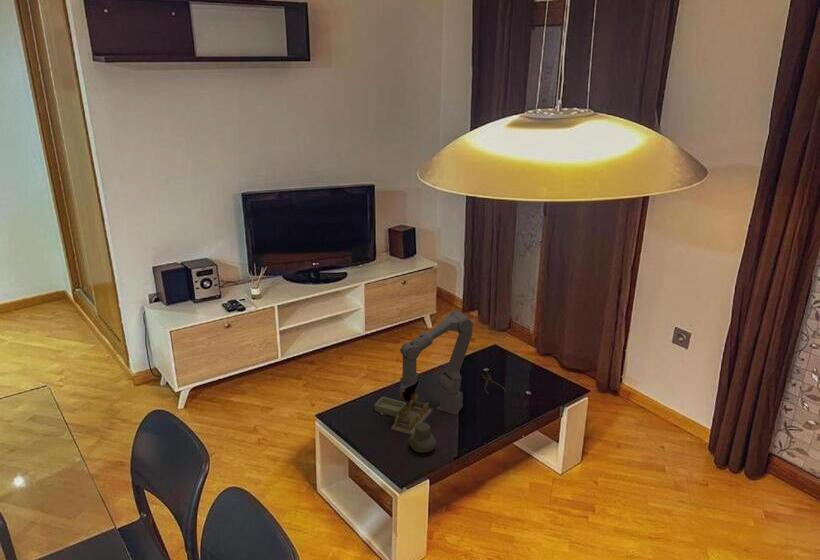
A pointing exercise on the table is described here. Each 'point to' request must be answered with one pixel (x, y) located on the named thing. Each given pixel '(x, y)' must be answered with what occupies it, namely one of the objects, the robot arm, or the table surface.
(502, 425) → the table surface
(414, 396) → the cylinder
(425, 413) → the fuse holder
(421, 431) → the air freshener
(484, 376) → the pliers
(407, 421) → the fuse
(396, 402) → the tray
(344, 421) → the table surface
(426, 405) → the fuse
